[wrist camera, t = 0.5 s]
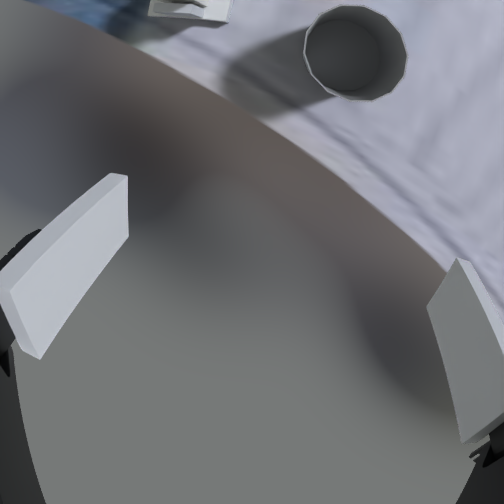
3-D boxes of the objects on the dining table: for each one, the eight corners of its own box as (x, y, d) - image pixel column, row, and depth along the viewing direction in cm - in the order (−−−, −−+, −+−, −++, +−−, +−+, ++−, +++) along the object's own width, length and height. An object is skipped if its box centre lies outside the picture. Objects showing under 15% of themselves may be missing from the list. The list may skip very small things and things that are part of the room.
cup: (330, 5, 26) (341, -15, 17) (393, 50, 27) (426, 48, 19) (288, 63, 30) (283, 63, 22) (351, 106, 32) (368, 122, 23)
